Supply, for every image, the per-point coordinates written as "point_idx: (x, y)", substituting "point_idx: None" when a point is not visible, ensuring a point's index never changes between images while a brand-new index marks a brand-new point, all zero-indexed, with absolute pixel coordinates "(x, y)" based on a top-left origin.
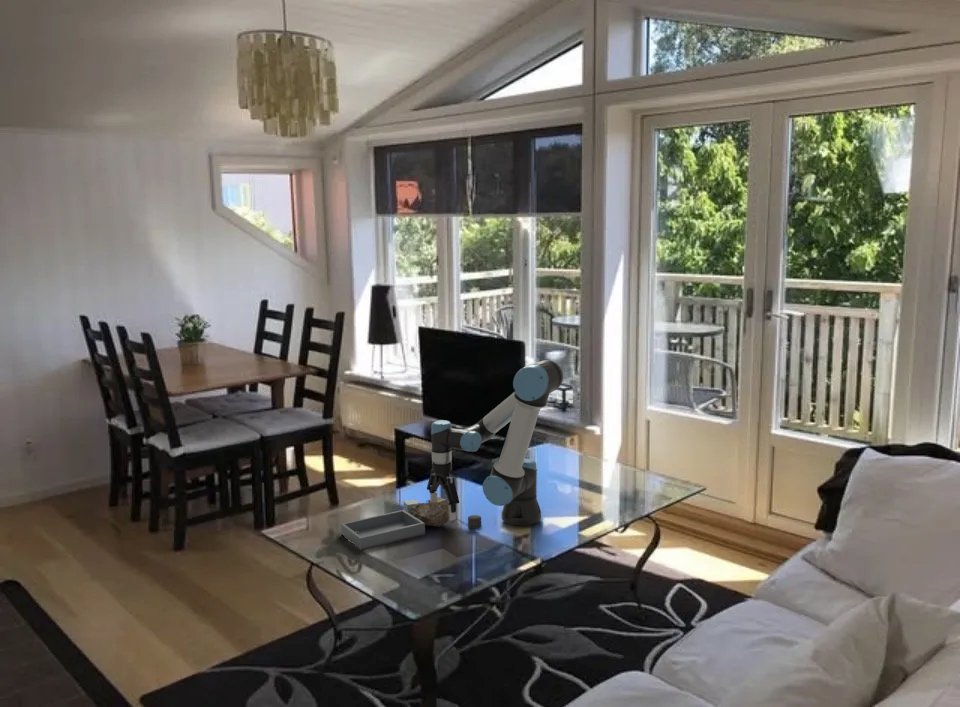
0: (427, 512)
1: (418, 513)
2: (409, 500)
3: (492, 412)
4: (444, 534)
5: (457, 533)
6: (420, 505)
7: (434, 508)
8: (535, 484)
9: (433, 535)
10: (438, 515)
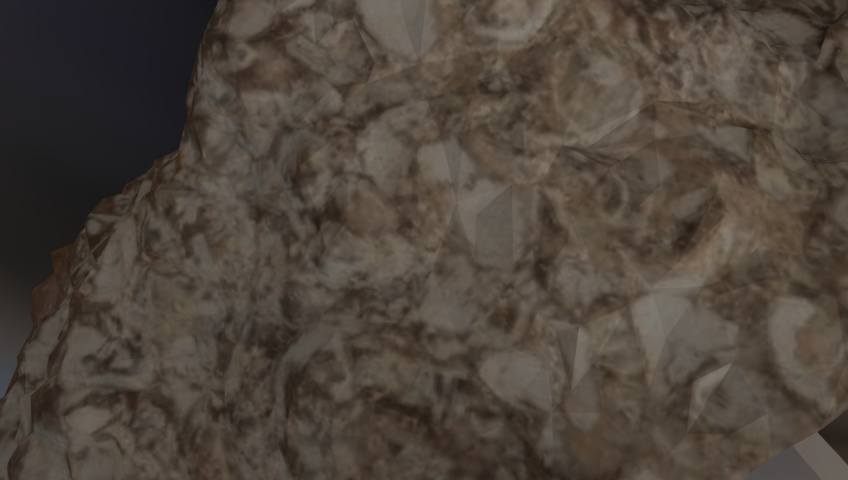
0: (294, 162)
1: (689, 4)
2: None
3: None
4: (27, 186)
5: (12, 341)
6: None
7: (250, 448)
8: None
9: (37, 7)
10: (44, 343)
